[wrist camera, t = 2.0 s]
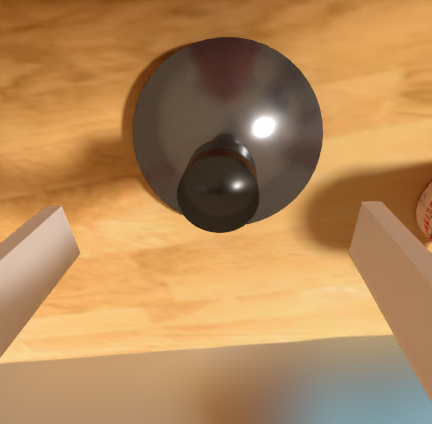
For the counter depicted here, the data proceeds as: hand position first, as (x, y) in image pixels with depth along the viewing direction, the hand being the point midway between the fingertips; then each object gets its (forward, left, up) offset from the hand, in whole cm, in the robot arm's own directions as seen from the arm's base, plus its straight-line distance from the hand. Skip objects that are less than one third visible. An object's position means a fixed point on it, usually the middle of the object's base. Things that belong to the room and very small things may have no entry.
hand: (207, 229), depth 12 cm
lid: (0, 0, -13) cm, 13 cm away
